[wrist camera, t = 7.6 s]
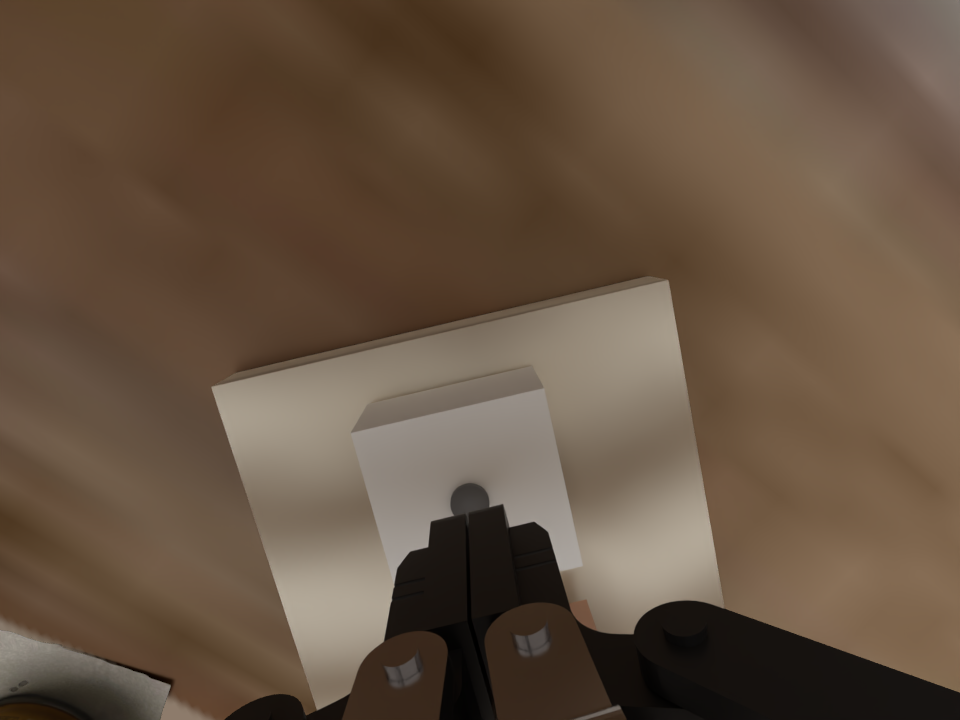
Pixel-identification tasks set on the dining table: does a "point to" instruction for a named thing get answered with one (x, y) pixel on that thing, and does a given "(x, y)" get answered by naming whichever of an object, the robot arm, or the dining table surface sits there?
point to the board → (579, 438)
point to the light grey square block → (464, 461)
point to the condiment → (71, 685)
